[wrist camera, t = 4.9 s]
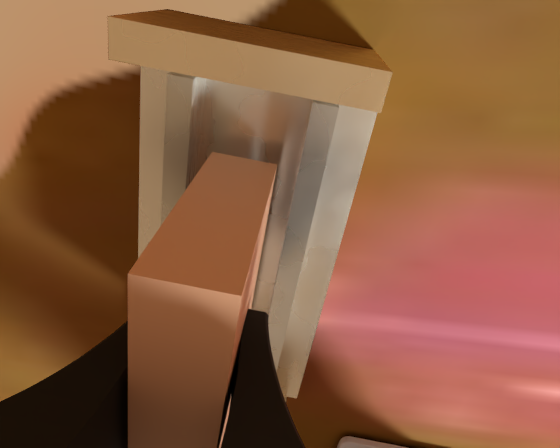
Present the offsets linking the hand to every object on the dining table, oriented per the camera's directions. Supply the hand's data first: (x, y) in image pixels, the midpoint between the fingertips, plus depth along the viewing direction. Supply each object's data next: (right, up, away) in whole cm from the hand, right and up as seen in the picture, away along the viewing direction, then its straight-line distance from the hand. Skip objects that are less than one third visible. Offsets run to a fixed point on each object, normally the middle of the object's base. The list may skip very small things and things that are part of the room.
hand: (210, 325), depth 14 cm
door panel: (0, +1, +3) cm, 3 cm away
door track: (0, +2, +4) cm, 5 cm away
